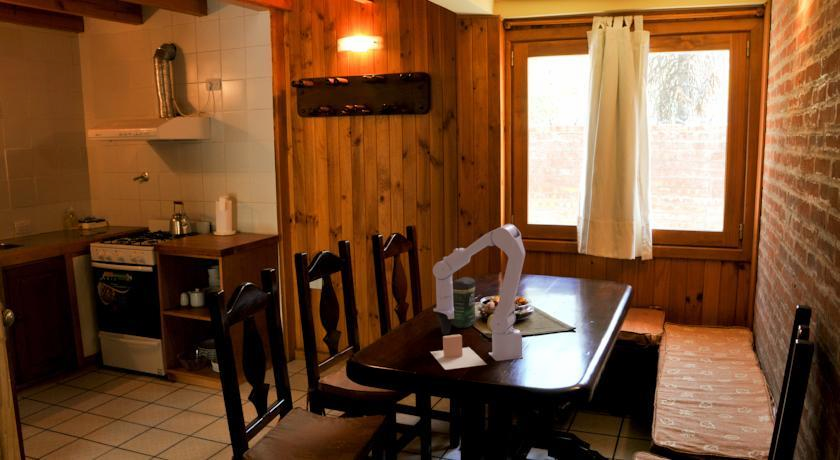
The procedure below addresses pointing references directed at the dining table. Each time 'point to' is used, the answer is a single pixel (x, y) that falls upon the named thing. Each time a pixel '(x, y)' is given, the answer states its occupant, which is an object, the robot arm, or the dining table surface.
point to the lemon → (489, 322)
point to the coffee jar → (464, 302)
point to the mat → (459, 359)
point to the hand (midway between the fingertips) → (445, 333)
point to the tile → (452, 346)
